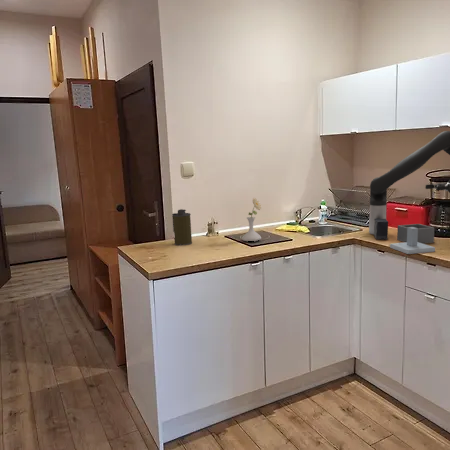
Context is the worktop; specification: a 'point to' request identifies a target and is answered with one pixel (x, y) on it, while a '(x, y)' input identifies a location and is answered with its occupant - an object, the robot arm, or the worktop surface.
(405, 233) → the crate
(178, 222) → the canister
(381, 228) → the small box
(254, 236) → the flower in vase
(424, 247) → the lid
